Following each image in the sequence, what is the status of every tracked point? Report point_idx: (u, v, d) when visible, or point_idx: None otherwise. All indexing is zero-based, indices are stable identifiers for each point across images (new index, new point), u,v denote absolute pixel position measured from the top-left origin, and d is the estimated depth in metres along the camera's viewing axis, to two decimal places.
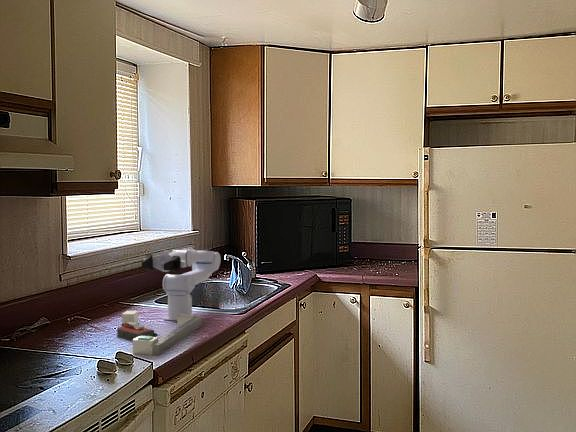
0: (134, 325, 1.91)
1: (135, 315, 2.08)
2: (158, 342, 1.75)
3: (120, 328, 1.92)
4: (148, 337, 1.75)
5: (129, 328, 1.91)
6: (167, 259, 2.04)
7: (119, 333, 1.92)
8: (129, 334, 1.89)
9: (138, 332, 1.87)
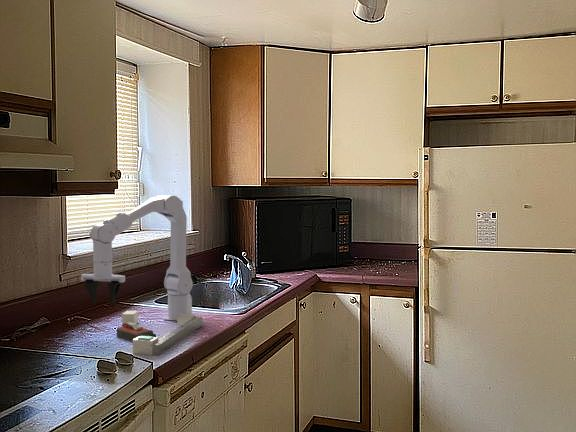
0: (133, 325, 1.91)
1: (135, 315, 2.07)
2: (158, 342, 1.75)
3: (119, 328, 1.92)
4: (148, 337, 1.75)
5: (128, 328, 1.91)
6: None
7: (118, 333, 1.91)
8: (128, 334, 1.88)
9: (136, 332, 1.87)
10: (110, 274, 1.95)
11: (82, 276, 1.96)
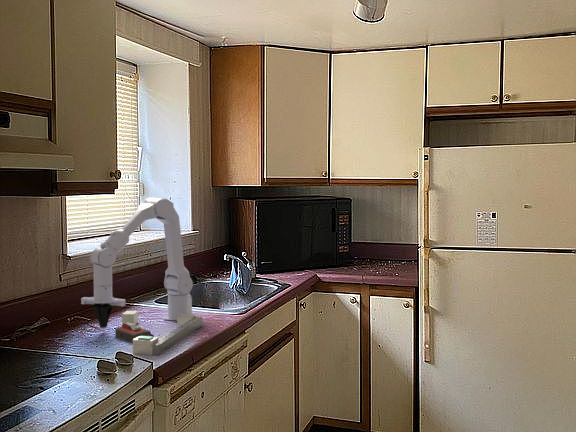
0: (131, 326, 1.90)
1: (135, 315, 2.07)
2: (158, 342, 1.75)
3: (118, 328, 1.92)
4: (148, 337, 1.75)
5: (126, 328, 1.91)
6: None
7: (117, 333, 1.91)
8: (126, 334, 1.88)
9: (134, 333, 1.86)
10: (110, 298, 1.95)
11: (82, 300, 1.96)
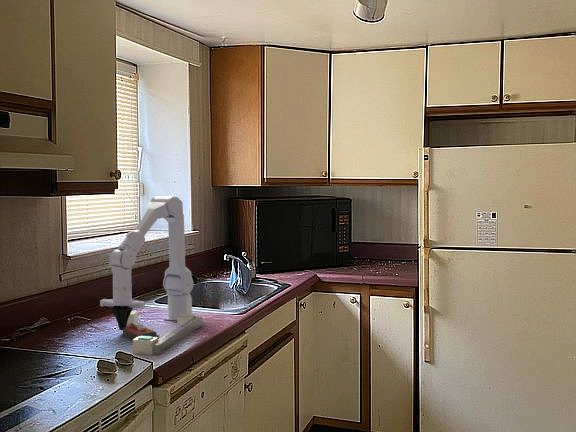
0: (138, 326, 1.90)
1: (135, 315, 2.07)
2: (158, 342, 1.75)
3: (125, 328, 1.92)
4: (148, 337, 1.75)
5: (133, 328, 1.91)
6: None
7: (124, 333, 1.91)
8: (131, 334, 1.88)
9: (139, 333, 1.86)
10: (130, 300, 1.94)
11: (101, 302, 1.95)
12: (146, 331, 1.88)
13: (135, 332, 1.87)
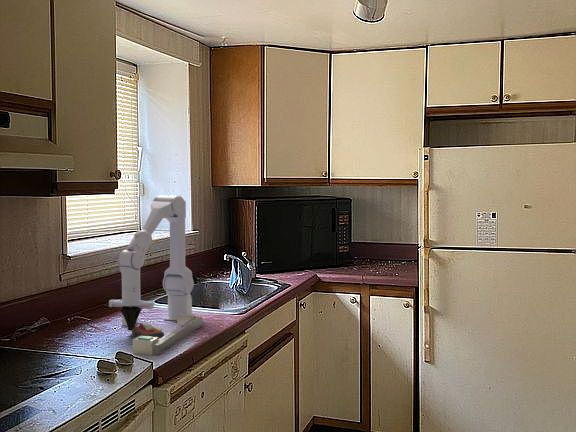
0: (146, 326, 1.90)
1: None
2: (158, 342, 1.75)
3: (134, 328, 1.92)
4: (148, 337, 1.75)
5: (142, 328, 1.91)
6: None
7: (133, 333, 1.92)
8: (139, 334, 1.88)
9: (146, 333, 1.85)
10: (139, 300, 1.93)
11: (110, 302, 1.94)
12: (153, 331, 1.87)
13: (142, 332, 1.87)
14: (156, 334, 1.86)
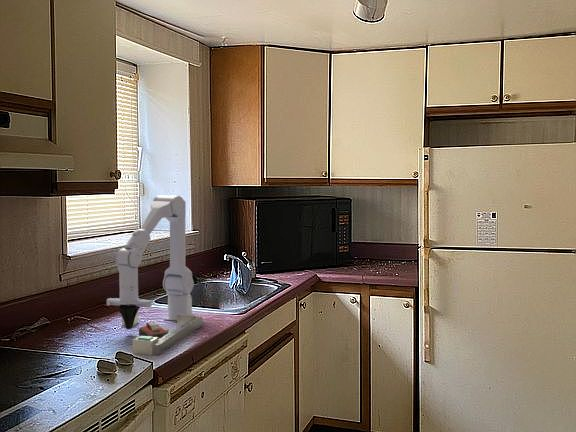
0: (152, 326, 1.90)
1: None
2: (158, 342, 1.75)
3: (141, 328, 1.93)
4: (148, 337, 1.75)
5: (148, 328, 1.91)
6: None
7: (139, 333, 1.92)
8: (145, 334, 1.88)
9: (151, 333, 1.86)
10: (136, 299, 1.93)
11: (108, 301, 1.95)
12: (159, 331, 1.87)
13: (148, 332, 1.87)
14: (161, 334, 1.86)
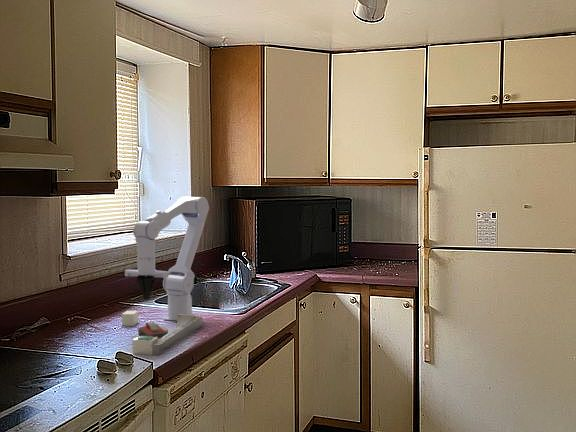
0: (151, 326, 1.90)
1: (135, 315, 2.07)
2: (158, 342, 1.75)
3: (141, 328, 1.93)
4: (148, 337, 1.75)
5: (147, 329, 1.91)
6: None
7: (139, 333, 1.92)
8: (144, 334, 1.88)
9: (150, 333, 1.85)
10: (153, 270, 2.01)
11: (126, 272, 2.02)
12: (158, 332, 1.87)
13: (147, 332, 1.87)
14: (160, 334, 1.86)
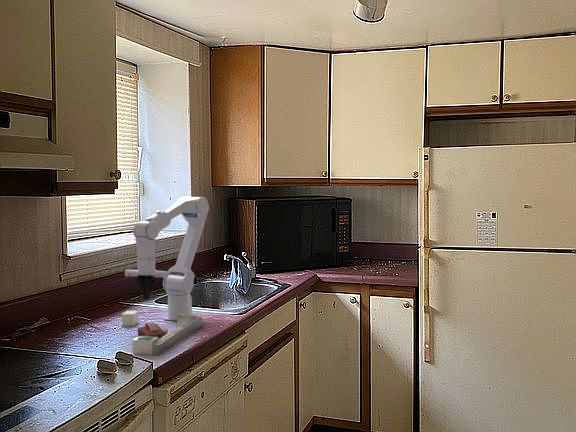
0: (150, 326, 1.90)
1: (135, 315, 2.07)
2: (158, 342, 1.75)
3: (140, 328, 1.93)
4: (148, 337, 1.75)
5: (146, 329, 1.91)
6: None
7: (138, 333, 1.92)
8: (143, 335, 1.88)
9: (149, 334, 1.85)
10: (153, 270, 2.01)
11: (126, 272, 2.02)
12: (157, 332, 1.87)
13: (146, 332, 1.87)
14: (159, 335, 1.85)
